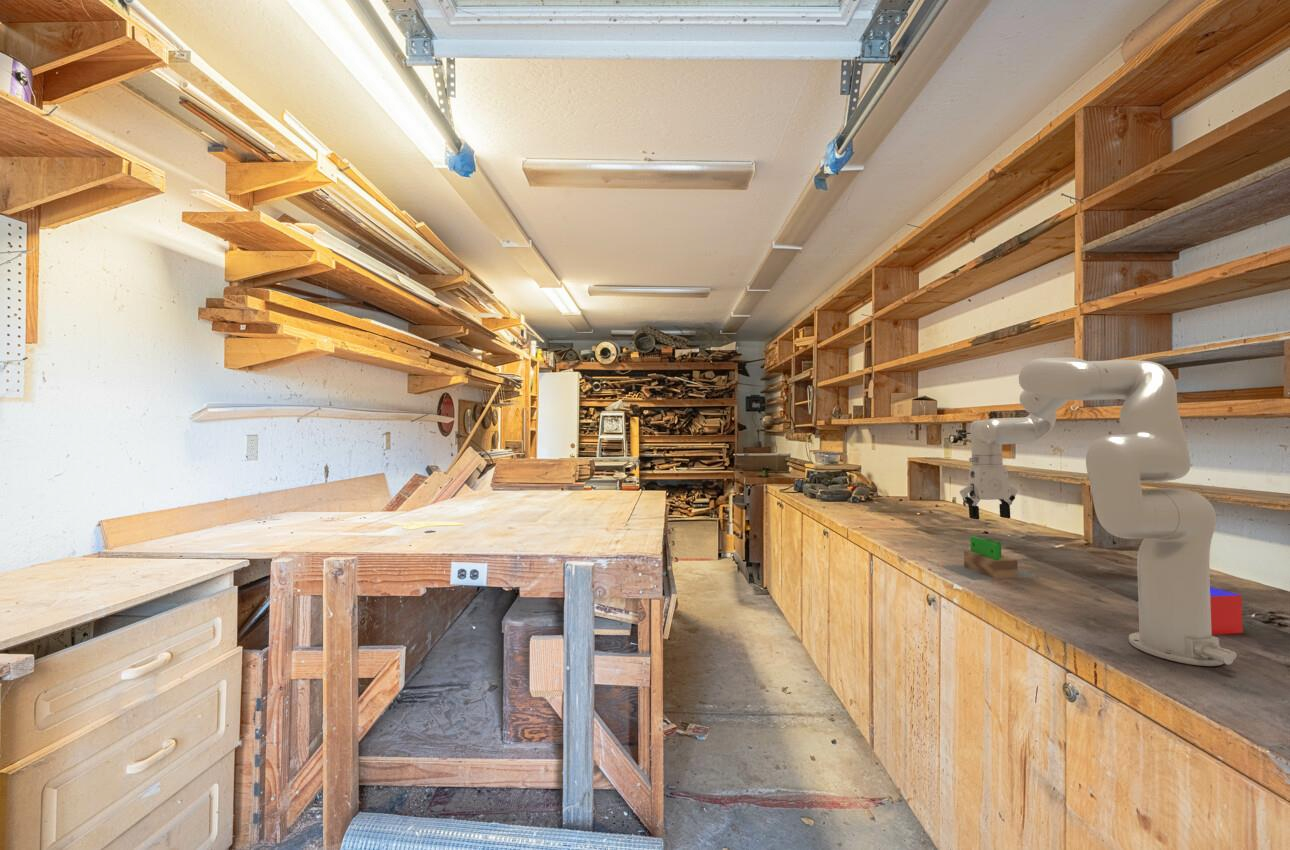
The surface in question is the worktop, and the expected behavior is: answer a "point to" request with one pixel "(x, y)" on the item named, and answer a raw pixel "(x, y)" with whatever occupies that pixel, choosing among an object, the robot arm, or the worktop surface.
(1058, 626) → the worktop surface
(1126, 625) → the worktop surface
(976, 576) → the mat
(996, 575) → the base brick
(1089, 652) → the worktop surface
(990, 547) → the green notched block
